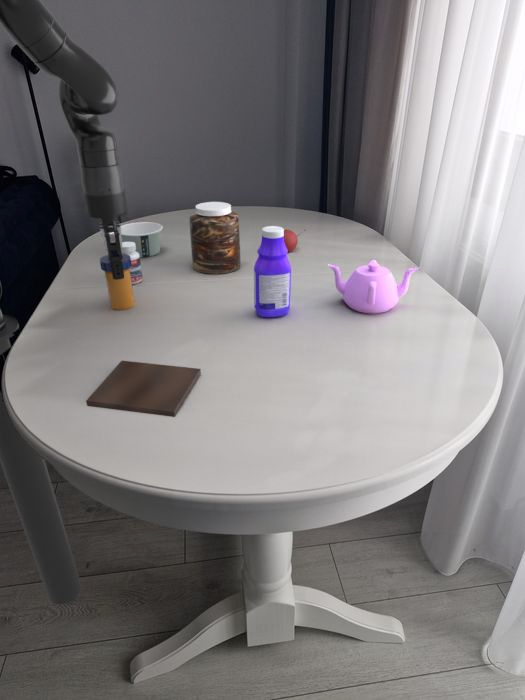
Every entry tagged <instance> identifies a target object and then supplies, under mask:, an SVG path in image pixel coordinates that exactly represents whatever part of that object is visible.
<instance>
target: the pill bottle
mask: <svg viewBox="0 0 525 700" xmlns="http://www.w3.org/2000/svg"><path fill="white" fill-rule="evenodd" d="M122 245H123V247H122V249H121V253H122V254H127V255H129V256H130V259H131V265H132V266H131V267H130V275H131V281H132V285H136V284H139V283H141V282H142V281H143V270H142V263H141V258H140V255H139V253H138V252H136V251H135V250H136V245H135V243H134V242H122Z"/></svg>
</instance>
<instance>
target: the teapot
mask: <svg viewBox="0 0 525 700" xmlns="http://www.w3.org/2000/svg"><path fill="white" fill-rule="evenodd" d="M327 266H328V267H329V268H331V270H332V271H333V274H334V284H335V287H336V290H337V291H338V293H340V295H342V299H343V301H344V302H345V304H346V305H347V306H348V307H349V308H350V309H352V310H353V311H355V312H358V313H362V314H363V313H364V314H383V313H387V312H388V311H390V310H392V309H393V308H394V307H395V306H396V305H397V304H398V302H399V299H400V298H402V297H403V296H405V294H406V293H407V291H408V289H409V285H410V279H411V276H412V274H413V273H414V272H415V271H416V270H419V267H418V266H416V267H410V268H408V269H406V270H405V272H404V275H403V278H402V281H401V283H399V284H397V282H396V279H395V277H394V275H393V273H392V272H391V270H389V268H387V267H385V266H382V265H380V263H378V262H377V261H376V259H371V260H370V261H369V262H368V263H367V264H366V265H360V266H359V267H357V268H356V269H355V270H354V271H353V272H352V273H351V274H350V276H349V277H348V279H347V281H346V282H345V281H344V280H343V279H342V273H341V269H340V267H339V266H337V265H335V264H330V263H327Z"/></svg>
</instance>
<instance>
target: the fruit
mask: <svg viewBox="0 0 525 700" xmlns="http://www.w3.org/2000/svg"><path fill="white" fill-rule="evenodd" d="M303 232H306V229H304V230H303V231H301V232H300V233H298V234H296V233H295V232H294V231H293V230H291V229H284V243H285V246H286V248H287V250H288V253H292V252H294V251H295V249H296V248H297V247H298V241H299V239H298V237H299V236H300V235H301V234H302V233H303Z"/></svg>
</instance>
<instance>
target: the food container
mask: <svg viewBox="0 0 525 700" xmlns="http://www.w3.org/2000/svg"><path fill="white" fill-rule="evenodd" d="M163 229H164V227H163V225H162V224H161V223H157V222H153V221H152V222H151V221H140V222H139V221H137V222H130V223H127V224H122V225H121V231H122V233H121V239H122V242H134V243H135V245H136V250H135V251H136V252H138V253H139V255H140V259H141V258H149V257H153V256H156V255H158V254H159V253H160V252H161V239H162V238H161V237H162V230H163Z"/></svg>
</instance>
